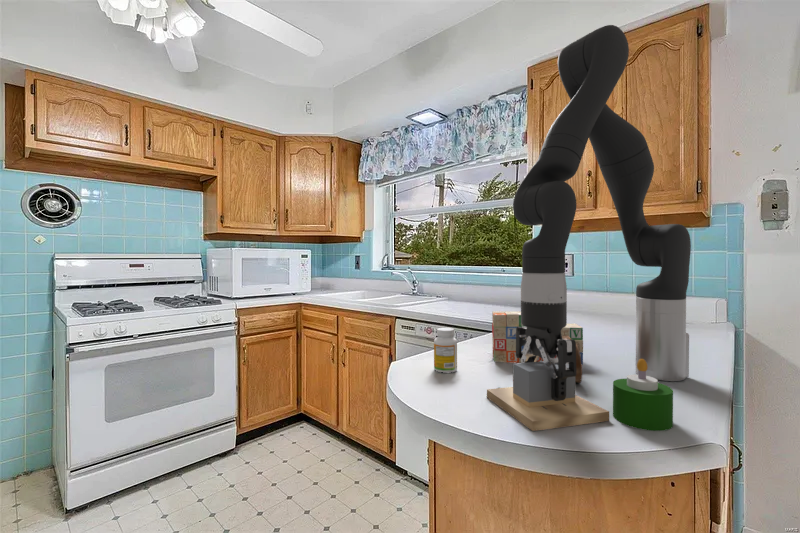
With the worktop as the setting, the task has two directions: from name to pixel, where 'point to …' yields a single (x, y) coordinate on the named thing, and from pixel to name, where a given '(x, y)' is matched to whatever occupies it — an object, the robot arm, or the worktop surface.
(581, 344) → the stack of blocks
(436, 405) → the worktop surface
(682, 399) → the worktop surface
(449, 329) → the supplement bottle
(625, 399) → the candle
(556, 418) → the board
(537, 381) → the block
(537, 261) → the robot arm
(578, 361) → the tin
